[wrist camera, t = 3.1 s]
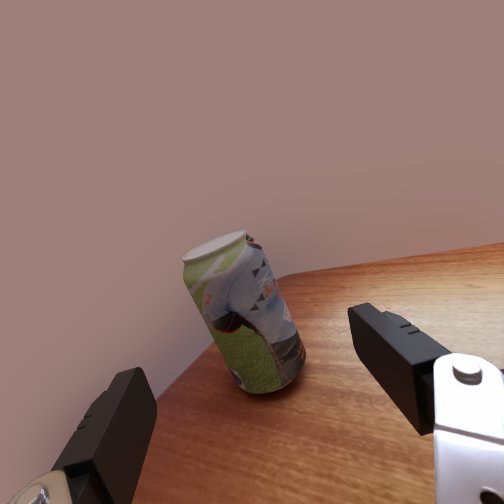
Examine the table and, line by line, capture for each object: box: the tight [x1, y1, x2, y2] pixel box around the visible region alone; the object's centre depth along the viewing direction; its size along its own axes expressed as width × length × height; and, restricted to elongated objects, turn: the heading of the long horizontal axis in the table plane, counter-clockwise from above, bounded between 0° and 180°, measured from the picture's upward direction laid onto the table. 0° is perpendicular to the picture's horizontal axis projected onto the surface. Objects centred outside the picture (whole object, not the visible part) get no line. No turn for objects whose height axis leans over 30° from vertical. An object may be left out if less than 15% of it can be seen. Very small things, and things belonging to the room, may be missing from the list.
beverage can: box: [182, 229, 306, 394], centre depth 21 cm, size 6×7×12 cm
